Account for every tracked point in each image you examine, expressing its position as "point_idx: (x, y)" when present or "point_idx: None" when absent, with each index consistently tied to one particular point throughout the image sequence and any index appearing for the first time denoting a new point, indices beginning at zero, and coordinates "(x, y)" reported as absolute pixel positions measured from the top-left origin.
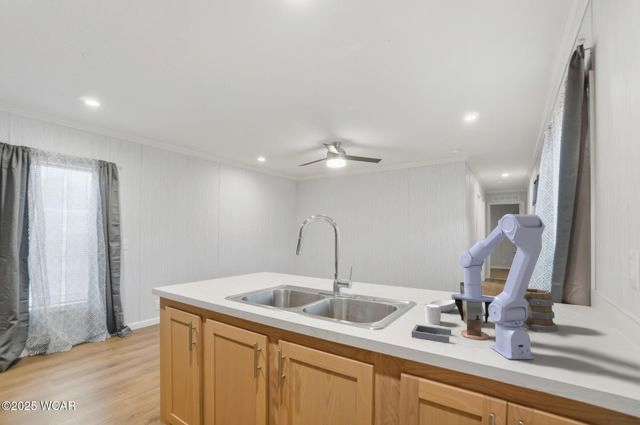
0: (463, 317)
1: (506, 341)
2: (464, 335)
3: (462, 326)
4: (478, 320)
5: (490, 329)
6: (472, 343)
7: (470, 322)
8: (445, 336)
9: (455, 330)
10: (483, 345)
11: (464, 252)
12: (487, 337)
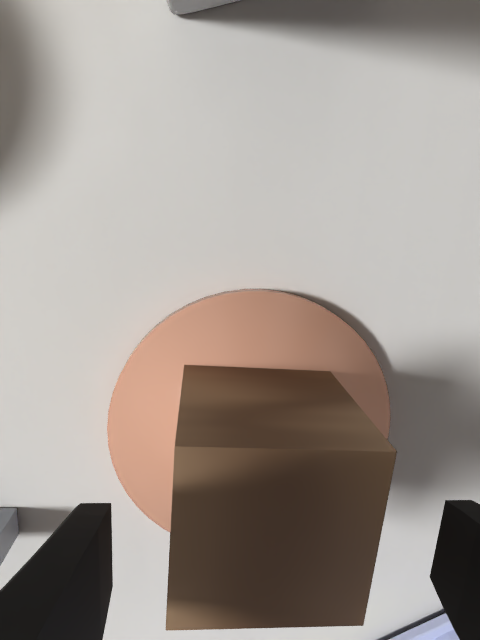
0: (99, 596)
1: None
2: (150, 516)
3: (108, 99)
4: (356, 458)
5: (460, 93)
6: (221, 630)
7: (221, 619)
8: None
9: (38, 331)
10: (304, 632)
11: None
12: None
